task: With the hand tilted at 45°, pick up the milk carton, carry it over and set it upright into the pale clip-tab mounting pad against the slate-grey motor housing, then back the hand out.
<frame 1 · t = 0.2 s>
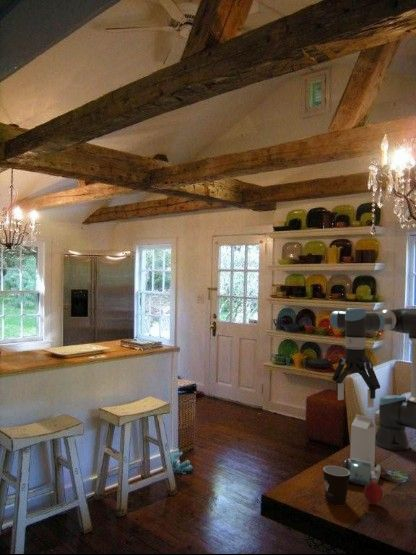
hand: (355, 403, 170), 27 cm above the table, tool pointing down, fingers open, 13 cm apart
milk carton: (362, 462, 184), on the table
onion: (372, 505, 145), on the table
motor: (360, 478, 167), on the table
coffee mug: (335, 500, 148), on the table
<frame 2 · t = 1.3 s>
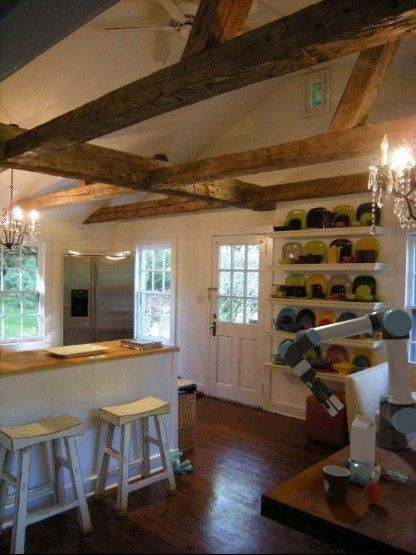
hand: (338, 411, 190), 19 cm above the table, tool tilted 45°, fingers open, 13 cm apart
nothing on the table moved.
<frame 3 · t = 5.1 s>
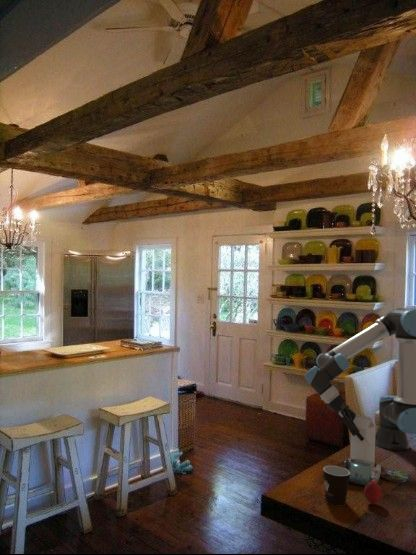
hand: (370, 443, 183), 8 cm above the table, tool tilted 45°, fingers closed on milk carton, 9 cm apart
milk carton: (362, 462, 184), on the table, touching gripper
everything else where it was.
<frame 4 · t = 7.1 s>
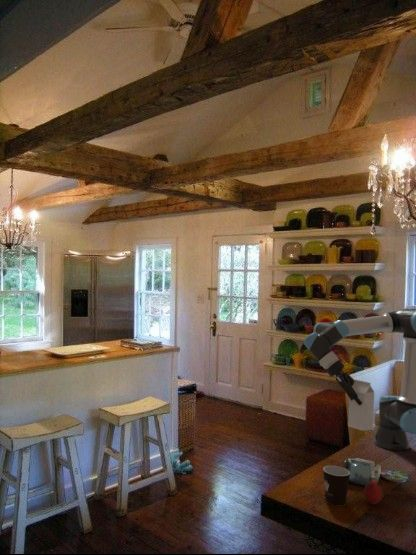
hand: (369, 408, 181), 23 cm above the table, tool tilted 45°, fingers closed on milk carton, 9 cm apart
milk carton: (360, 428, 182), point 15 cm above the table, touching gripper
everything else where it was.
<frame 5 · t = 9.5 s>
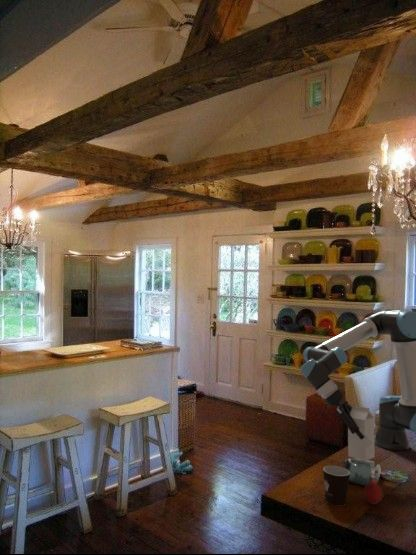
hand: (371, 441, 169), 13 cm above the table, tool tilted 45°, fingers closed on milk carton, 9 cm apart
milk carton: (361, 457, 170), point 7 cm above the table, touching gripper, motor
everything else where it was.
when the fingers open (12 cm above the table, at t = 10.3 s): milk carton drops 2 cm, resting on motor.
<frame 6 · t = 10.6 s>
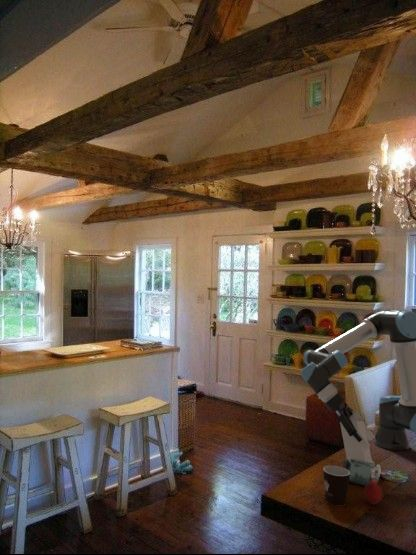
hand: (370, 443, 169), 12 cm above the table, tool tilted 45°, fingers open, 12 cm apart
milk carton: (360, 463, 170), point 4 cm above the table, touching motor
everything else where it was.
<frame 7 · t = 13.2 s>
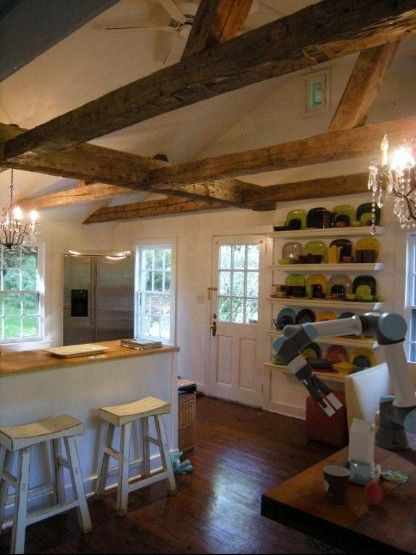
hand: (336, 411, 176), 23 cm above the table, tool tilted 45°, fingers open, 13 cm apart
milk carton: (360, 470, 170), point 2 cm above the table, touching motor
everything else where it was.
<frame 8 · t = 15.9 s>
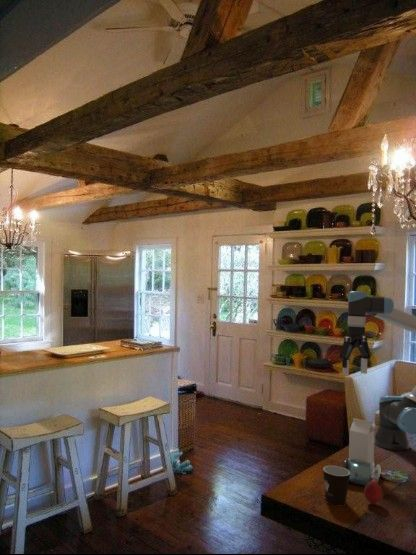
hand: (354, 374, 195), 35 cm above the table, tool pointing down, fingers open, 13 cm apart
nothing on the table moved.
at the end: milk carton 0.7 cm from the target spot on the motor, point 1.8 cm above the motor's base; milk carton tilted 0°; the gripper is holding nothing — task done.
